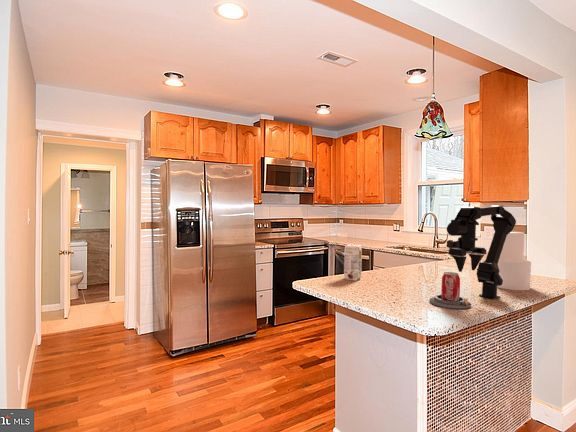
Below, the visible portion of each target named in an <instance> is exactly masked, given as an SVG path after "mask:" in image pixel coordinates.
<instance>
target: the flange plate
mask: <svg viewBox="0 0 576 432" xmlns="http://www.w3.org/2000/svg"><path fill="white" fill-rule="evenodd" d="M468 299H469V298H466V297H462V296H460V298H459V301H447V300H443V299H442V297H441V293H439V294H434V296H433V297H430V298H429V300H428V301H429V303H430V304H431V305H433V306H435V307H438V308H442V309H447V310H467V309H471V308H472V303H471V301H468Z"/></svg>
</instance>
